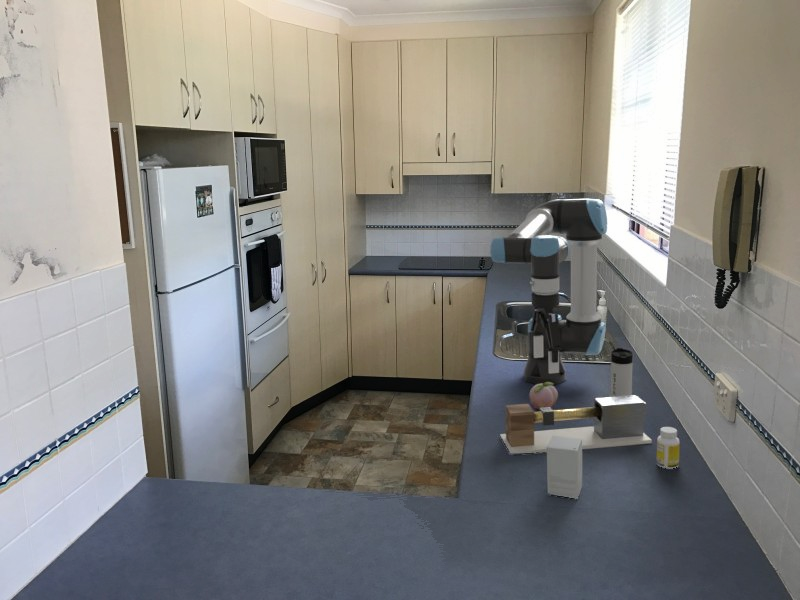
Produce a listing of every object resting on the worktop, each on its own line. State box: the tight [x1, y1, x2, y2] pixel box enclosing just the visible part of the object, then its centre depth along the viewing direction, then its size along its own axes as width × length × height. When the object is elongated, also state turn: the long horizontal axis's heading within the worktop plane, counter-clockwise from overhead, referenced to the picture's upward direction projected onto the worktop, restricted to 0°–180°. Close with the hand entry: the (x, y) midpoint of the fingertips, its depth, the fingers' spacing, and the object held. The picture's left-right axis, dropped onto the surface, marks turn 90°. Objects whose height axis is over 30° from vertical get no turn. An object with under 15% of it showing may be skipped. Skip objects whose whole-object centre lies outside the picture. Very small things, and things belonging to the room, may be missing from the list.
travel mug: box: [609, 347, 633, 397], centre depth 202 cm, size 6×7×20 cm
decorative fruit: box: [528, 381, 559, 411], centre depth 207 cm, size 9×8×10 cm
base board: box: [499, 425, 653, 454], centre depth 186 cm, size 12×40×1 cm, turn 95°
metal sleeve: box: [593, 394, 647, 439], centre depth 186 cm, size 6×13×10 cm, turn 95°
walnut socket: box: [505, 403, 535, 447], centre depth 183 cm, size 6×6×10 cm
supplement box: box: [546, 435, 583, 500], centre depth 157 cm, size 7×7×13 cm
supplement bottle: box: [656, 426, 681, 470], centre depth 168 cm, size 5×5×10 cm
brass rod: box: [534, 406, 601, 427], centre depth 184 cm, size 4×26×4 cm, turn 95°
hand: (545, 364), depth 185 cm, fingers open, 13 cm apart
